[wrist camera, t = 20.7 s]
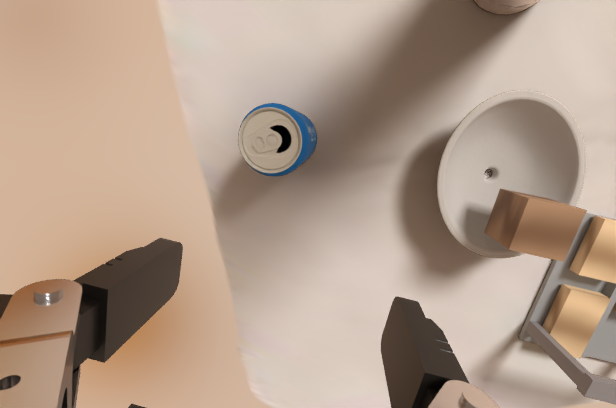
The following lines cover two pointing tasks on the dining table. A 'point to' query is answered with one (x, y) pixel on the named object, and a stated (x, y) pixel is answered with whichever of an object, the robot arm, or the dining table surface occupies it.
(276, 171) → the beverage can
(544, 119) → the dish
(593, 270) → the light wood block
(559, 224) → the walnut block
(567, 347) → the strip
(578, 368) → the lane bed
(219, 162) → the dining table surface
